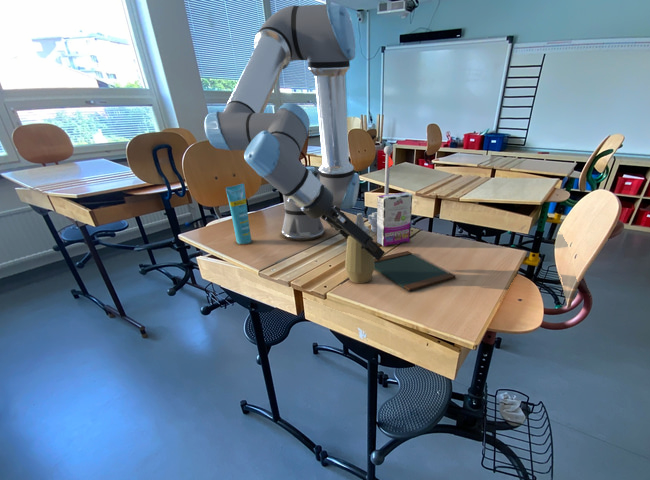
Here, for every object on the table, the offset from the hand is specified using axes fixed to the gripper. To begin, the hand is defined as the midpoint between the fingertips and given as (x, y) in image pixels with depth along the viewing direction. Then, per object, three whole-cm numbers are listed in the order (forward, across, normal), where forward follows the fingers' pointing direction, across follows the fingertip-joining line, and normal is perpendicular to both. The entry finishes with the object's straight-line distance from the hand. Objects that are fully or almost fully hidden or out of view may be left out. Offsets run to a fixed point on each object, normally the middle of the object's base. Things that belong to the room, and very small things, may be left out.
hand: (368, 248), depth 90 cm
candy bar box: (+22, -20, +10) cm, 31 cm away
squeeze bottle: (+4, 0, -8) cm, 9 cm away
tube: (-10, -46, -22) cm, 52 cm away
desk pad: (+15, +2, +3) cm, 15 cm away
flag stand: (+26, -34, +14) cm, 45 cm away
